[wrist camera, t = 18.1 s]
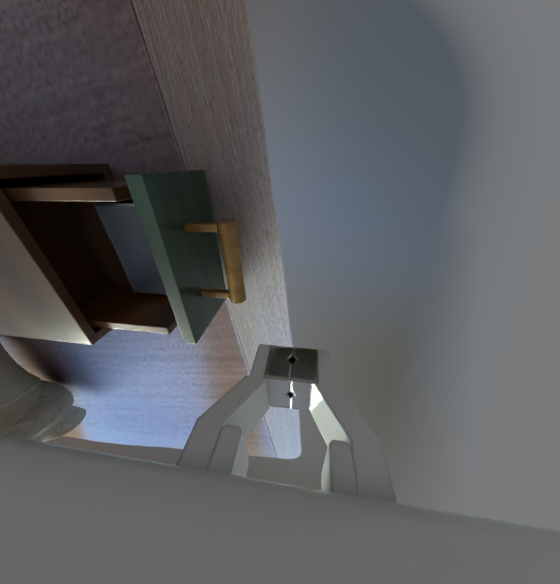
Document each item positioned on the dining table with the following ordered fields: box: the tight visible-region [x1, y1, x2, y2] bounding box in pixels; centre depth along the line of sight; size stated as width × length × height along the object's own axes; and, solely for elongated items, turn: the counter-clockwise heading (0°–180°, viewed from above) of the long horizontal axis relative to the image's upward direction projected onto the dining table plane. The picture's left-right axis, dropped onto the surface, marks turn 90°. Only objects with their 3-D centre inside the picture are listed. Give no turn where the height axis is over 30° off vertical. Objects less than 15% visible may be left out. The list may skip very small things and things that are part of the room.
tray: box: [92, 199, 167, 295], centre depth 21 cm, size 6×9×2 cm, turn 1°
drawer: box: [0, 170, 246, 344], centre depth 19 cm, size 20×13×8 cm
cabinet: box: [0, 164, 114, 345], centre depth 21 cm, size 17×15×10 cm
